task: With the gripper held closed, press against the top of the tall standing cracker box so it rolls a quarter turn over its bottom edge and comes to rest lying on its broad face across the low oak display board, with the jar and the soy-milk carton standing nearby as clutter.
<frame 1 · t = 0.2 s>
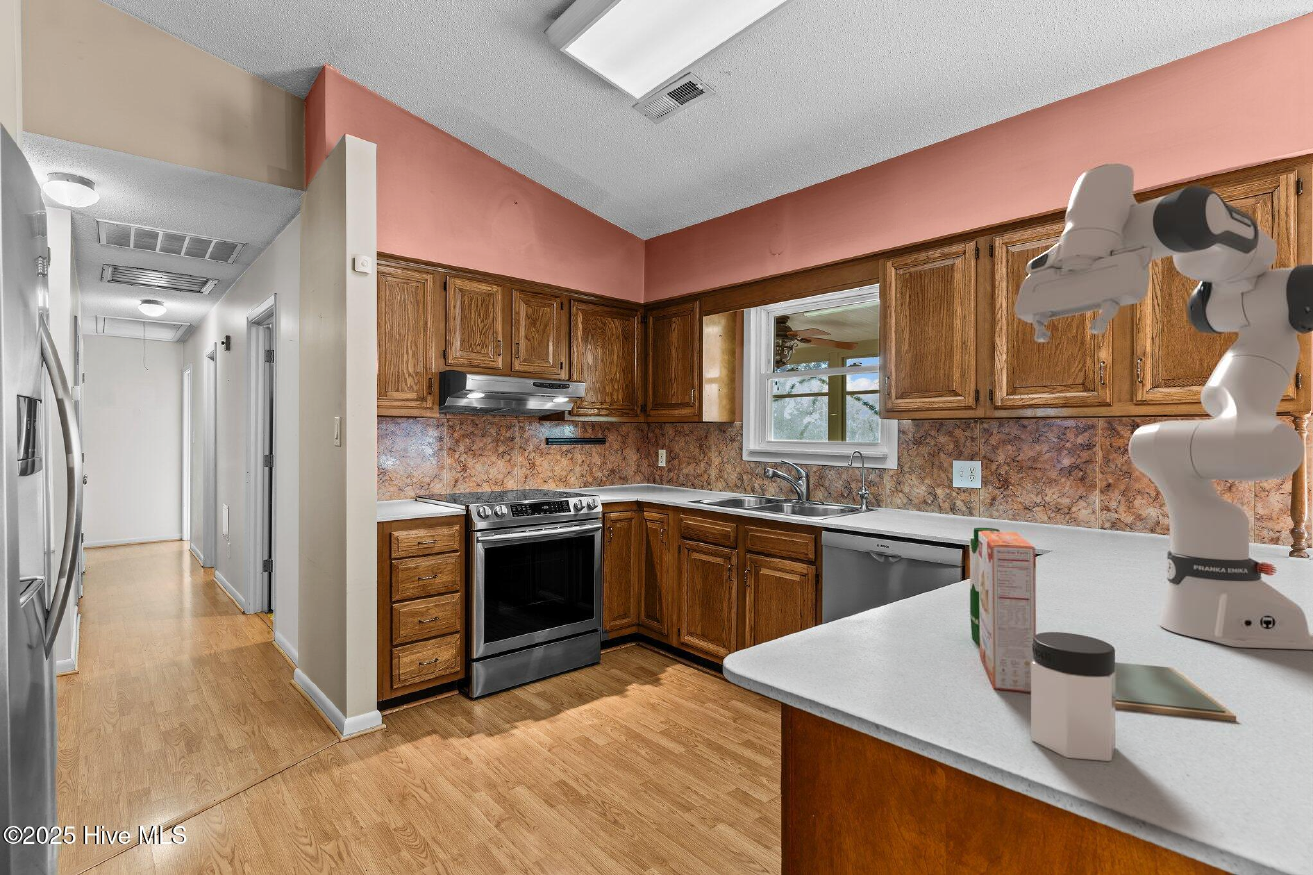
hand: (1067, 336, 105), 52 cm above the counter, tool tilted 20°, fingers open, 8 cm apart
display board: (1117, 686, 93), on the counter
cracker box: (1005, 676, 98), on the counter
jar: (1072, 745, 76), on the counter
soya milk: (999, 646, 112), on the counter
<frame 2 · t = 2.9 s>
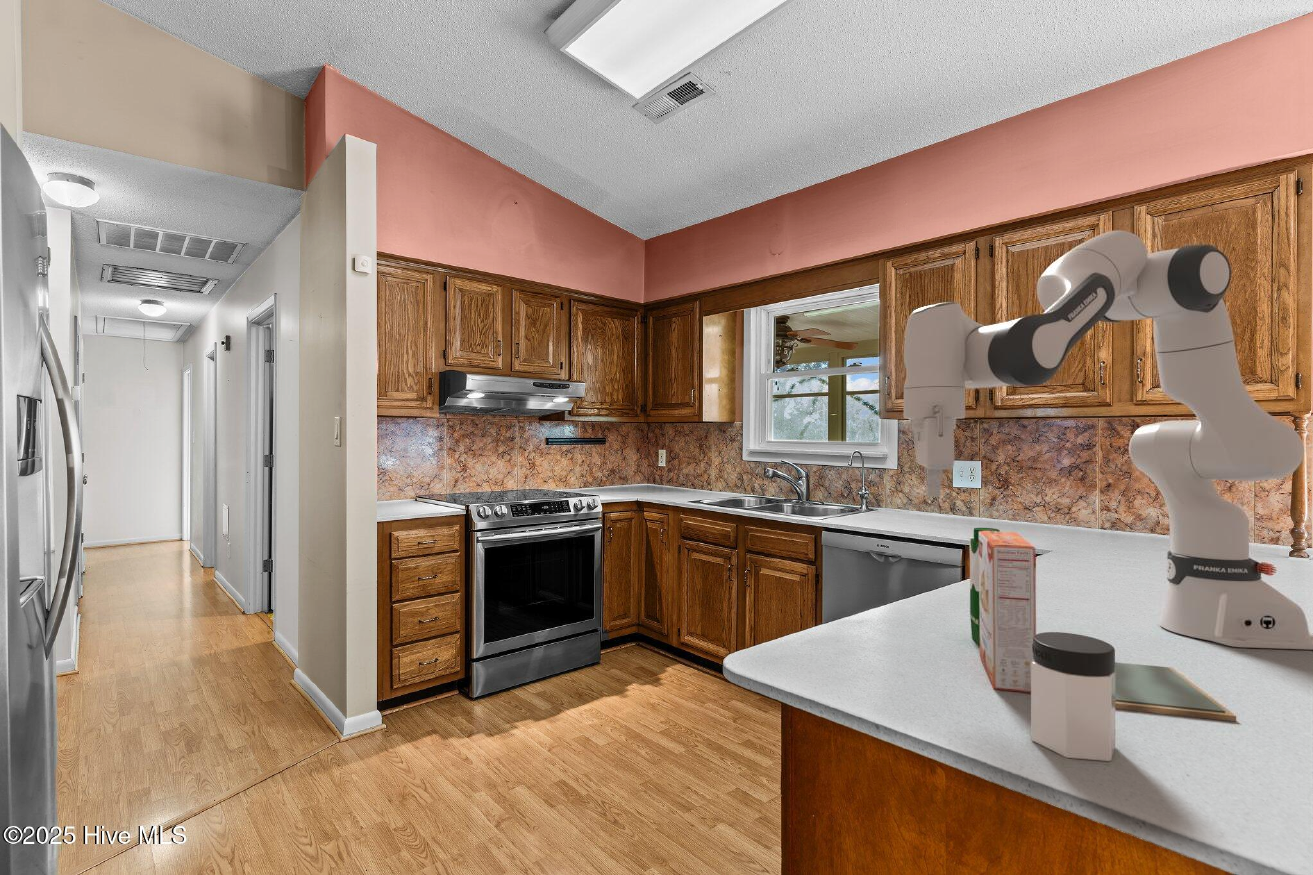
hand: (933, 496, 101), 27 cm above the counter, tool pointing down, fingers closed
nothing on the counter moved.
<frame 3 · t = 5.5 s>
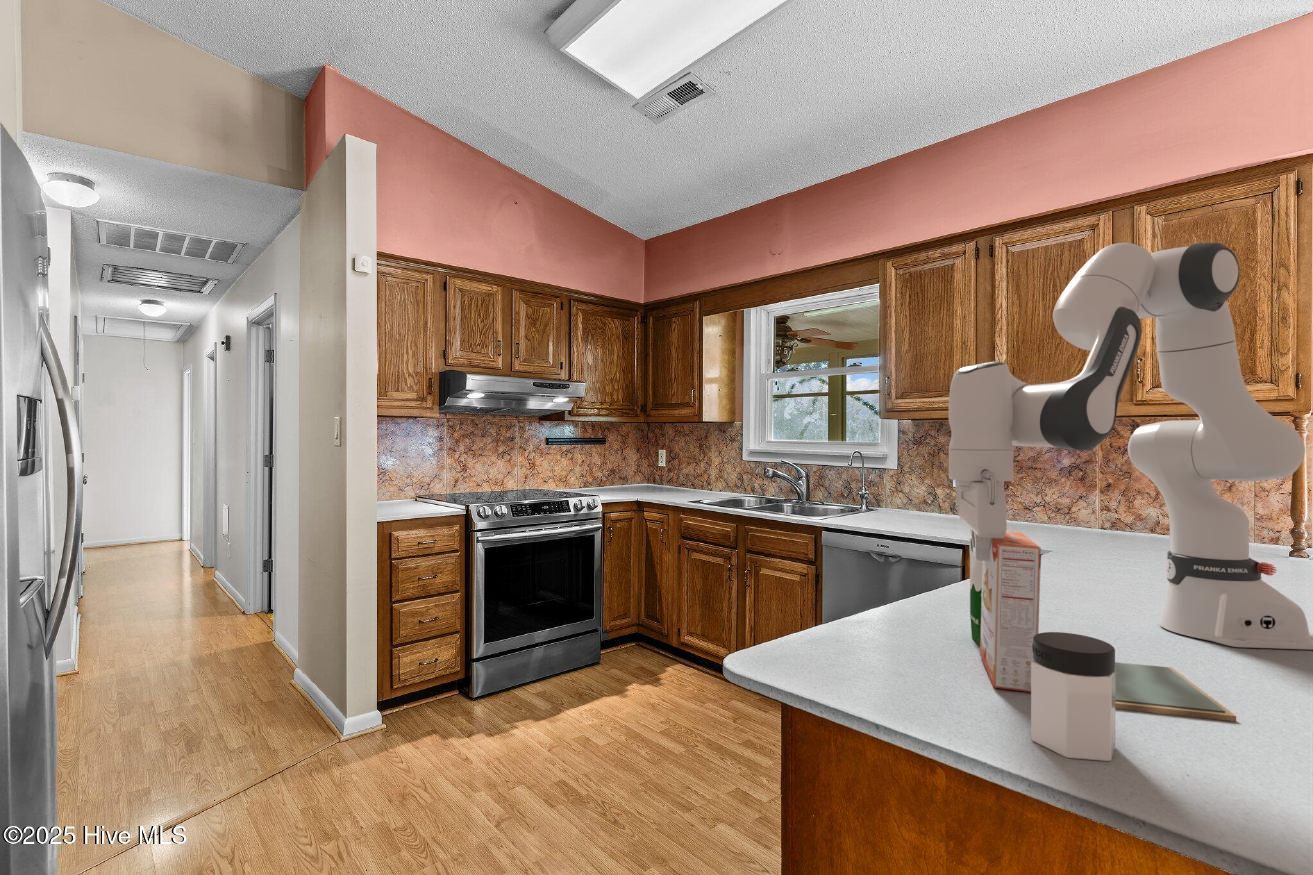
hand: (980, 558, 99), 17 cm above the counter, tool pointing down, fingers closed
nothing on the counter moved.
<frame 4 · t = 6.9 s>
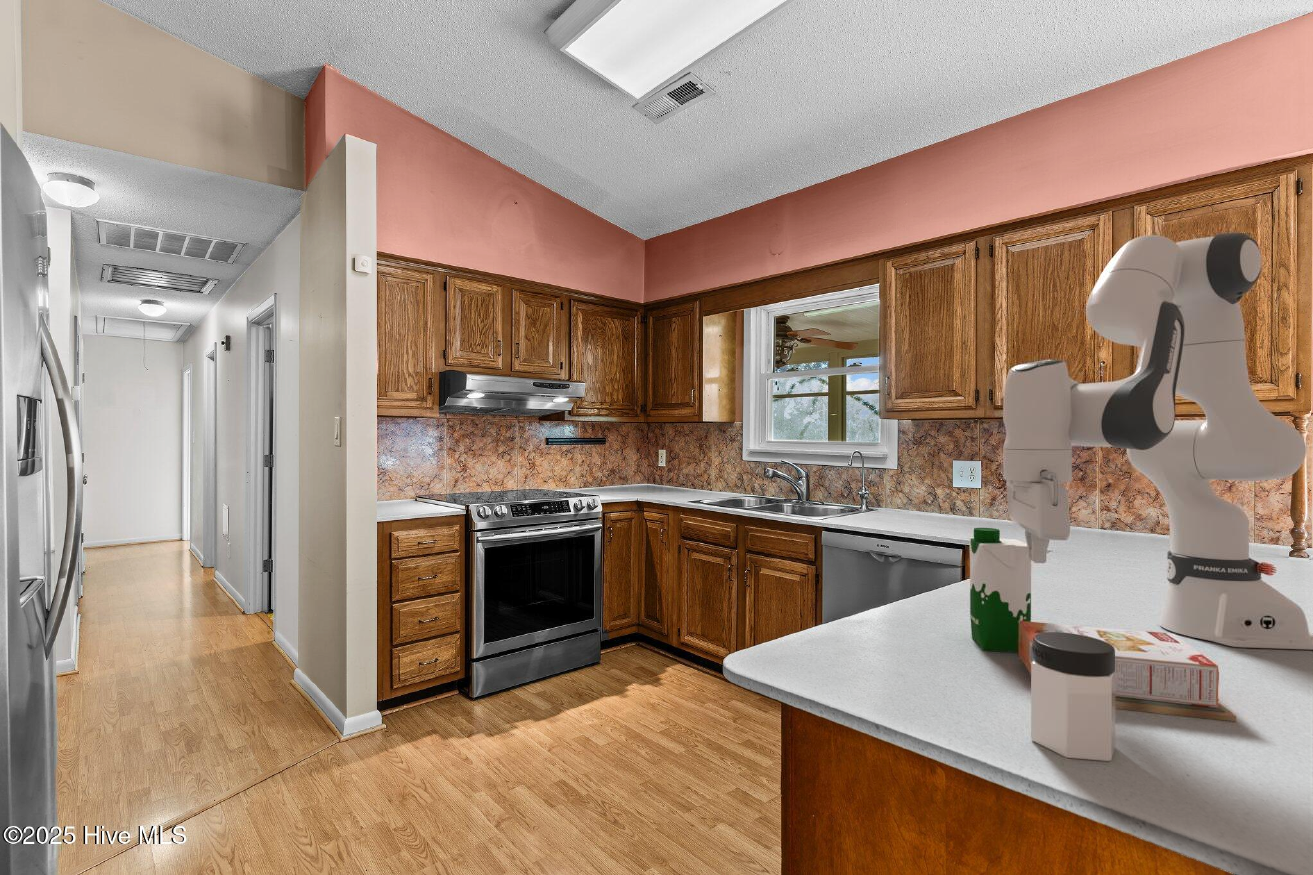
hand: (1037, 561, 97), 17 cm above the counter, tool pointing down, fingers closed
cracker box: (1024, 650, 97), point 4 cm above the counter, touching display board
everything else where it was.
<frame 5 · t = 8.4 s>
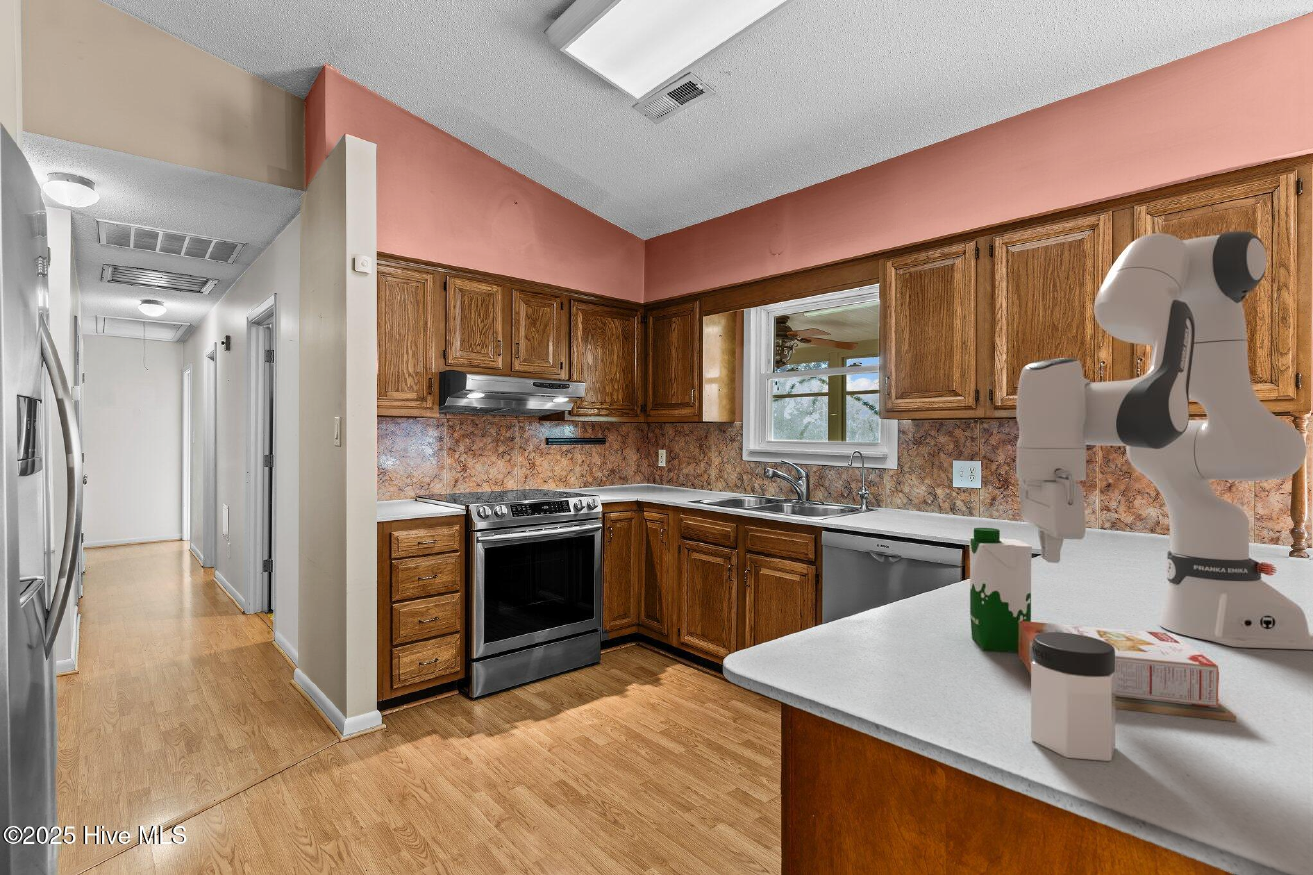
hand: (1050, 560, 96), 18 cm above the counter, tool pointing down, fingers closed
nothing on the counter moved.
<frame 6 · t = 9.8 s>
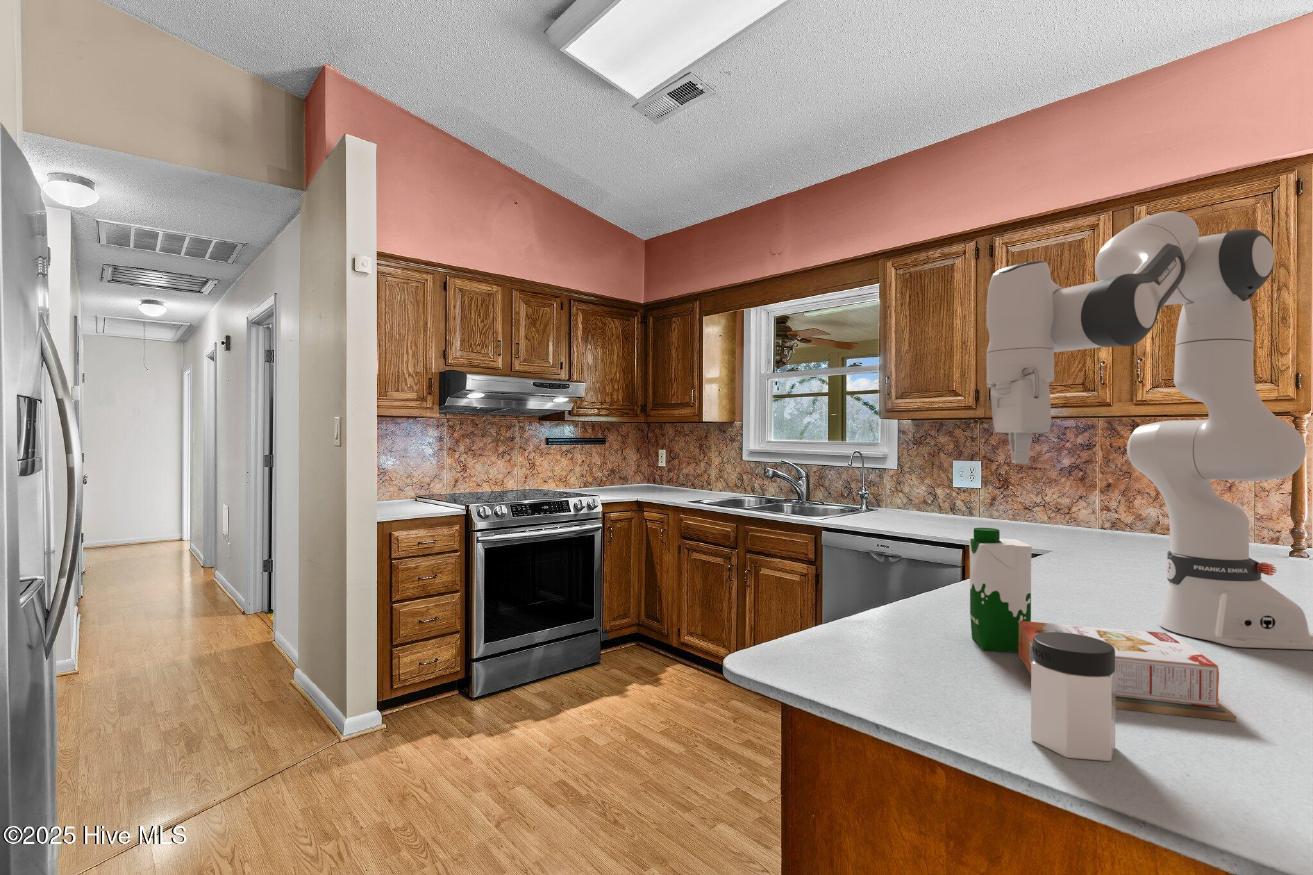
hand: (1020, 463, 97), 32 cm above the counter, tool pointing down, fingers closed
nothing on the counter moved.
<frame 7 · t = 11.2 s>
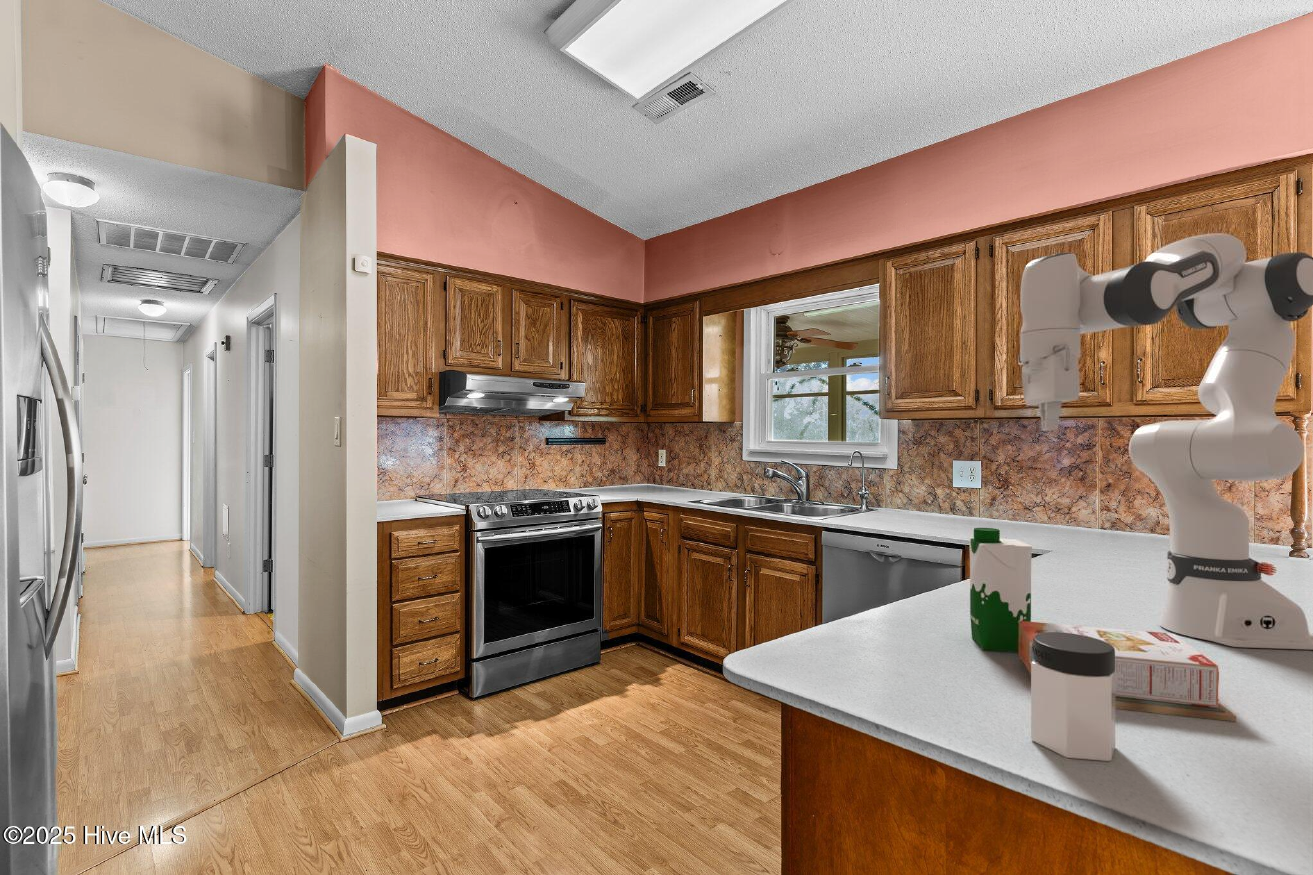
hand: (1049, 430, 111), 37 cm above the counter, tool pointing down, fingers closed
nothing on the counter moved.
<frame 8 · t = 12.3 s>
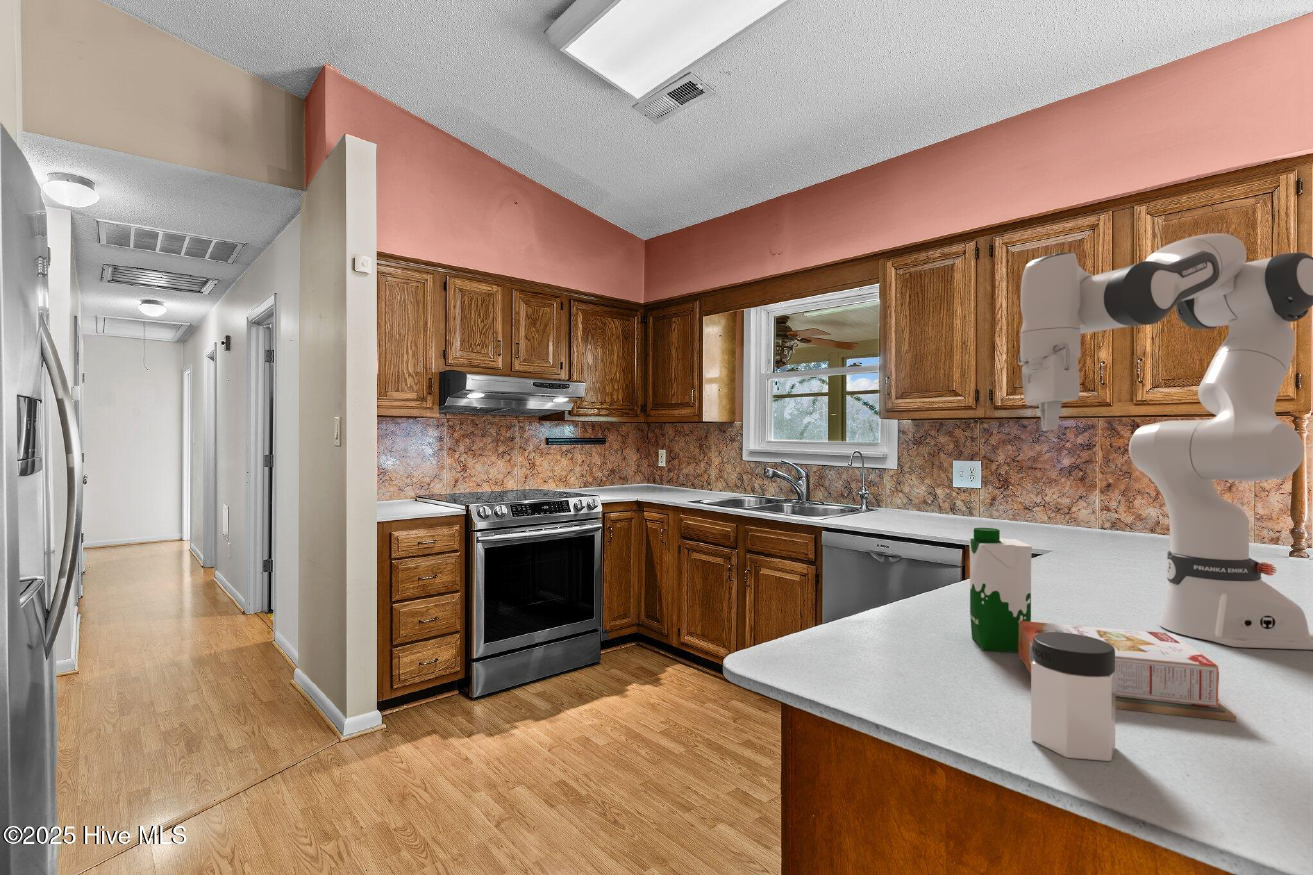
hand: (1049, 430, 111), 37 cm above the counter, tool pointing down, fingers closed
nothing on the counter moved.
at the end: cracker box tilted 91°; cracker box inside the target area on the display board (1.9 cm from its centre), point 4.0 cm above the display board's base; the gripper is holding nothing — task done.
